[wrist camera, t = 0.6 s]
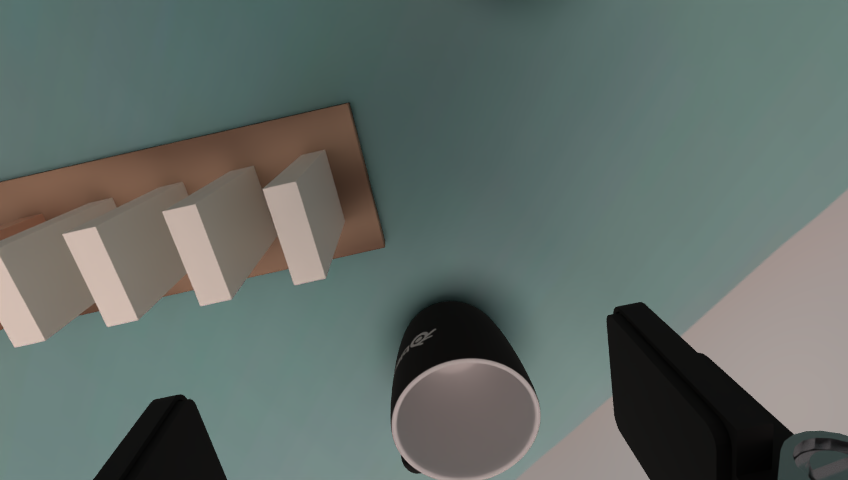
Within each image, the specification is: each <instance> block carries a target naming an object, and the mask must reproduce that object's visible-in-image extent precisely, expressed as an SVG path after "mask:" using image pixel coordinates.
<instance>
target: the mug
mask: <svg viewBox="0 0 848 480" xmlns="http://www.w3.org/2000/svg"><path fill="white" fill-rule="evenodd" d="M539 426H540V406H539V401H538V398H537V395H536V392H535V389H534V387H533V385H532V383H531V381H530V378H529V376H528V374H527V372H526V370H525V369H524V367H523V365H522V363H521V361H520V360H519V358H518V356H517V354H516V353H515V351H514V350H513V348H512V346H511V345H510V343H509V342H508V340H507V339H506V337H505V336H504V335H503V333H502V332H501V331H500V329H499V328H498V327H497V326H496V324H495V323H494V322H493V321H492V320H491V319H490V318H489V317H488V316H487V315H486V314H485V313H483V312H482V311H481V310H479V309H478V308H476V307H474V306H472V305H469V304H466V303H463V302H457V301H446V302H440V303H436V304H434V305H431V306H429V307H427V308H426V309H424V310H423V311H421V312H420V313H419V314H418V315H417V316H416V317H415V318H414V319H413V320H412V321H411V323H410V324H409V326H408V328H407V330H406V332H405V334H404V336H403V339H402V341H401V345H400V348H399V352H398V356H397V361H396V366H395V372H394V379H393V387H392V397H391V430H392V435H393V439H394V442H395V445H396V447H397V449H398V451H399V452H400V454H401V458H402V462H403V464H404V466H405V467H406V468H407V469H408V470H409V471H410V472H413V473H416V474H417V473H423V474H425V475H427V476H429V477H432V478H435V479H438V480H484V479H487V478H490V477H493V476H496V475H498V474H500V473H502V472H504V471H506V470H507V469H509V468H510V467H512V466H513V465H514V464H516V463H517V462H518V461H519V460H520V459H521V458H522V457H523V456H524V455H525V454H526V453H527V451H528V450H529V449H530V447H531V446H532V444H533V442H534V440H535V438H536V436H537V433H538V430H539Z"/></svg>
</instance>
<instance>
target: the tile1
mask: <svg viewBox="0 0 848 480" xmlns="http://www.w3.org/2000/svg"><path fill="white" fill-rule="evenodd" d="M262 190H263V193H264V196H265V199H266V202H267V205H268V208H269V211H270V214H271V217H272V220H273V223H274V226H275V229H276V232H277V235H278V238H279V241H280V244H281V247H282V250H283V253H284V256H285V259H286V262H287V265H288V268H289V271H290V274H291V277H292V280H293V283H294V285H299V284H303V283H308V282H312V281H317V280H321V279H326V276H327V273H328V270H329V267H330V264H331V261H332V258H333V255H334V252H335V250H336V247H337V244H338V241H339V238H340V235H341V232H342V229H343V226H344V223H345V219H344V215H343V212H342V208H341V205H340V201H339V198H338V194H337V190H336V187H335V183H334V180H333V176H332V173H331V169H330V166H329V162H328V158H327V155H326V151H325V150H321V151H316V152H312V153H308V154H303V155H301V156H299V157H298V158H297V159H296V160H295V161H294V162H293V163H291V164H290V165H289V166H288V167H287V168H286V169H285V170H283V171H282V172H281V173H280V174H279V175H278V176H277V177H275V178H274V179H273V180H272V181H271V182H270V183H269V184H268V185H266V186H265V187H264V188H263V189H262Z"/></svg>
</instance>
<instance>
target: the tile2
mask: <svg viewBox="0 0 848 480" xmlns="http://www.w3.org/2000/svg"><path fill="white" fill-rule="evenodd" d="M162 213H163V216H164V218H165V220H166V223H167V225H168V228H169V230H170V233H171V235H172V238H173V240H174V242H175V245H176V247H177V250H178V252H179V255H180V257H181V260H182V262H183V264H184V267H185V269H186V272H187V274H188V277H189V279H190V282H191V284H192V287H193V289H194V291H195V294H196V296H197V299H198V301H199V304H200V306H204V305H208V304H213V303H217V302H222V301H226V300H231V299H232V298H233V297H234V296H235V294H236V293H237V291H238V290H239V289H240V287H241V286H242V284H243V283H244V282H245V280H246V279H247V277H248V276H249V275H250V273H251V272H252V271H253V269H254V268H255V266H256V265H257V264H258V262H259V261H260V259H261V258H262V257H263V255H264V254H265V252H266V251H267V250H268V248H269V247H270V246H271V244H272V243H273V241H274V240H275V239H276V237H277V234H276V231H275V228H274V225H273V222H272V219H271V216H270V213H269V210H268V207H267V204H266V201H265V198H264V195H263V192H262V189H261V186H260V183H259V180H258V177H257V174H256V171H255V168H254V166H250V167H246V168H241V169H237V170H233V171H229V172H228V173H226V174H224V175H223V176H221V177H219V178H218V179H216V180H214V181H213V182H211V183H209V184H208V185H206V186H204V187H203V188H201V189H199V190H197V191H196V192H194V193H192V194H191V195H189V196H187V197H186V198H184V199H182V200H181V201H179V202H177V203H176V204H174V205H172V206H171V207H169V208H167V209H166V210H164V211H162Z"/></svg>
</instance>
